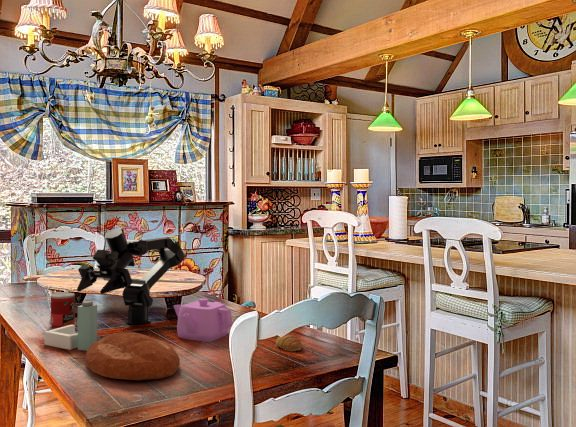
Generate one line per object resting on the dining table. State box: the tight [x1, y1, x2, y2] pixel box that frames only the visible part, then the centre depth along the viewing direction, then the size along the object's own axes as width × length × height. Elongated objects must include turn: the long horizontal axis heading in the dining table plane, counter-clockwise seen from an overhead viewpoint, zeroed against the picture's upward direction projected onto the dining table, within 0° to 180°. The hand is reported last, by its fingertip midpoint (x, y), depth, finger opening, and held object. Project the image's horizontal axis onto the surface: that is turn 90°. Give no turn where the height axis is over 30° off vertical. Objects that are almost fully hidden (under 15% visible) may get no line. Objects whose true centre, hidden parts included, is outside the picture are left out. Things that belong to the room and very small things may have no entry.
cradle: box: [44, 324, 78, 350], centre depth 166 cm, size 10×11×4 cm
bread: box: [85, 331, 181, 381], centre depth 144 cm, size 22×32×9 cm
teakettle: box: [173, 298, 233, 343], centre depth 176 cm, size 17×17×12 cm
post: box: [77, 300, 98, 352], centre depth 160 cm, size 4×4×14 cm
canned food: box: [50, 292, 76, 329], centre depth 187 cm, size 8×8×11 cm
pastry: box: [275, 333, 303, 352], centre depth 164 cm, size 9×7×4 cm
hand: (89, 291), depth 169 cm, fingers open, 9 cm apart
